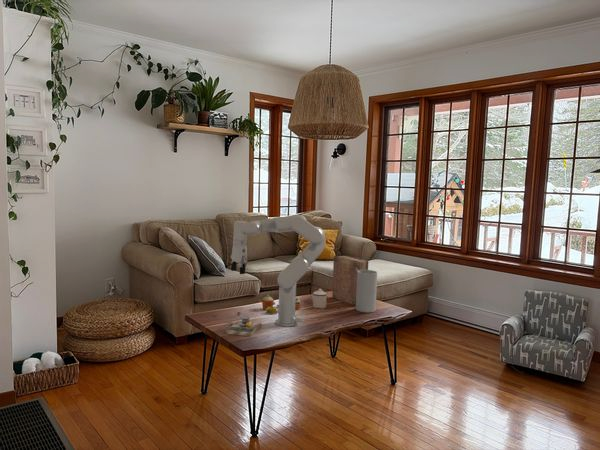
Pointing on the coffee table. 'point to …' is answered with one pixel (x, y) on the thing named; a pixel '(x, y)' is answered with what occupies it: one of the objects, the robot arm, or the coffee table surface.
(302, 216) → the robot arm
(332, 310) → the coffee table surface
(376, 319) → the coffee table surface
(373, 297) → the cylinder vase
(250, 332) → the stand
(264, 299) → the toy tea set
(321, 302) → the teacup with lid
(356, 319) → the coffee table surface
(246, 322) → the ball-knob lever handle
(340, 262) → the book
